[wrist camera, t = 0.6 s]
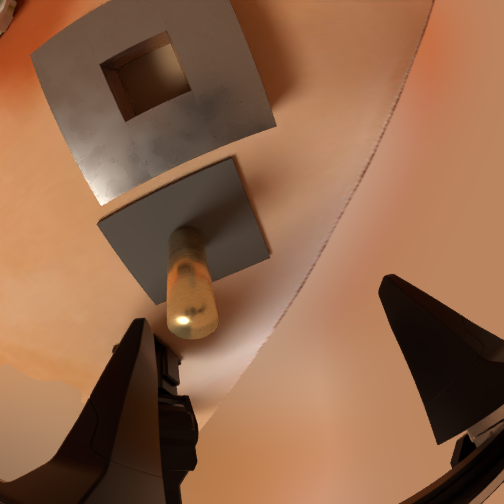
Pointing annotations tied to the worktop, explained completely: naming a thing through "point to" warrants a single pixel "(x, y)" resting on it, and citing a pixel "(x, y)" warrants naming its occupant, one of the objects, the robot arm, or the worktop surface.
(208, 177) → the mat
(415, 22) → the worktop surface
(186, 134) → the block
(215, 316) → the pin
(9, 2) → the flashlight
